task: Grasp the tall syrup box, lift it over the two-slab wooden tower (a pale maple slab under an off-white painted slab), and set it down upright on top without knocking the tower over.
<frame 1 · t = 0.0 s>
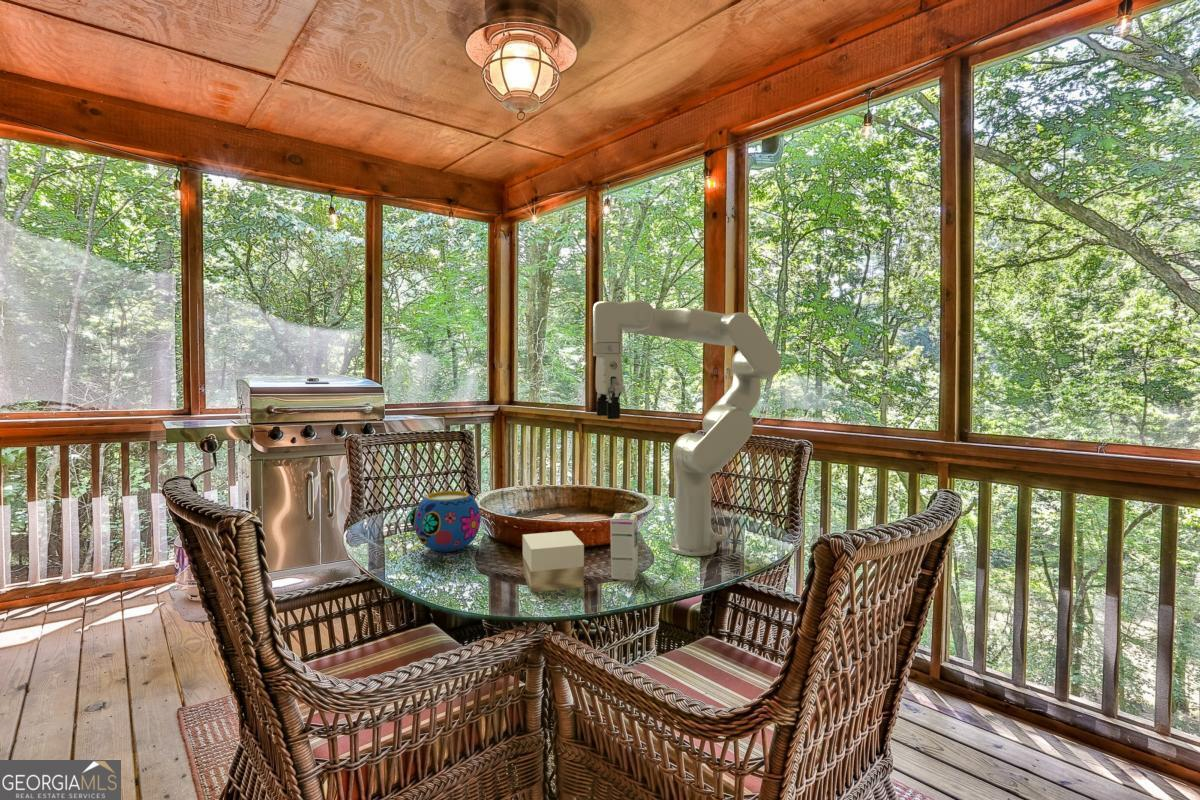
hand: (608, 417, 152), 37 cm above the table, tool pointing down, fingers open, 9 cm apart
tower top slab: (552, 560, 138), point 5 cm above the table
ceramic pot: (448, 549, 162), on the table
tower base slab: (552, 581, 138), on the table
syrup box: (624, 576, 141), on the table
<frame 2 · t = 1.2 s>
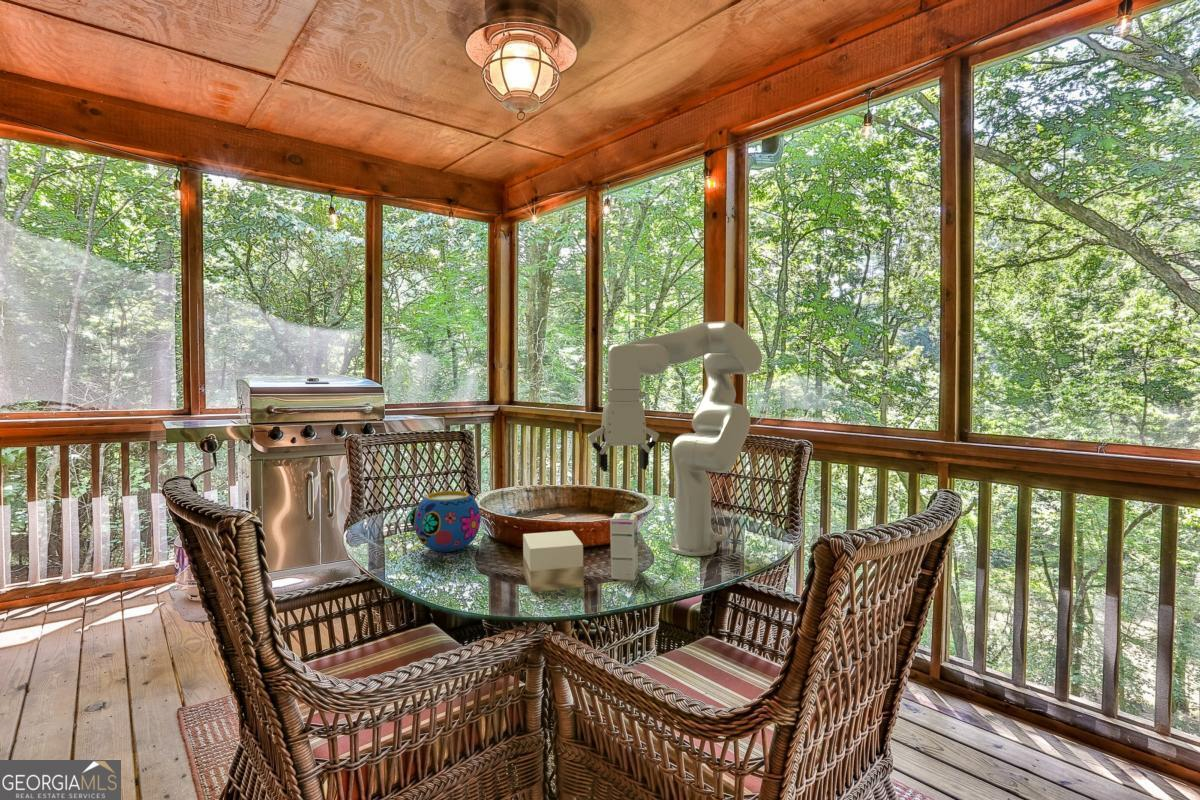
hand: (623, 469, 139), 26 cm above the table, tool pointing down, fingers open, 9 cm apart
nothing on the table moved.
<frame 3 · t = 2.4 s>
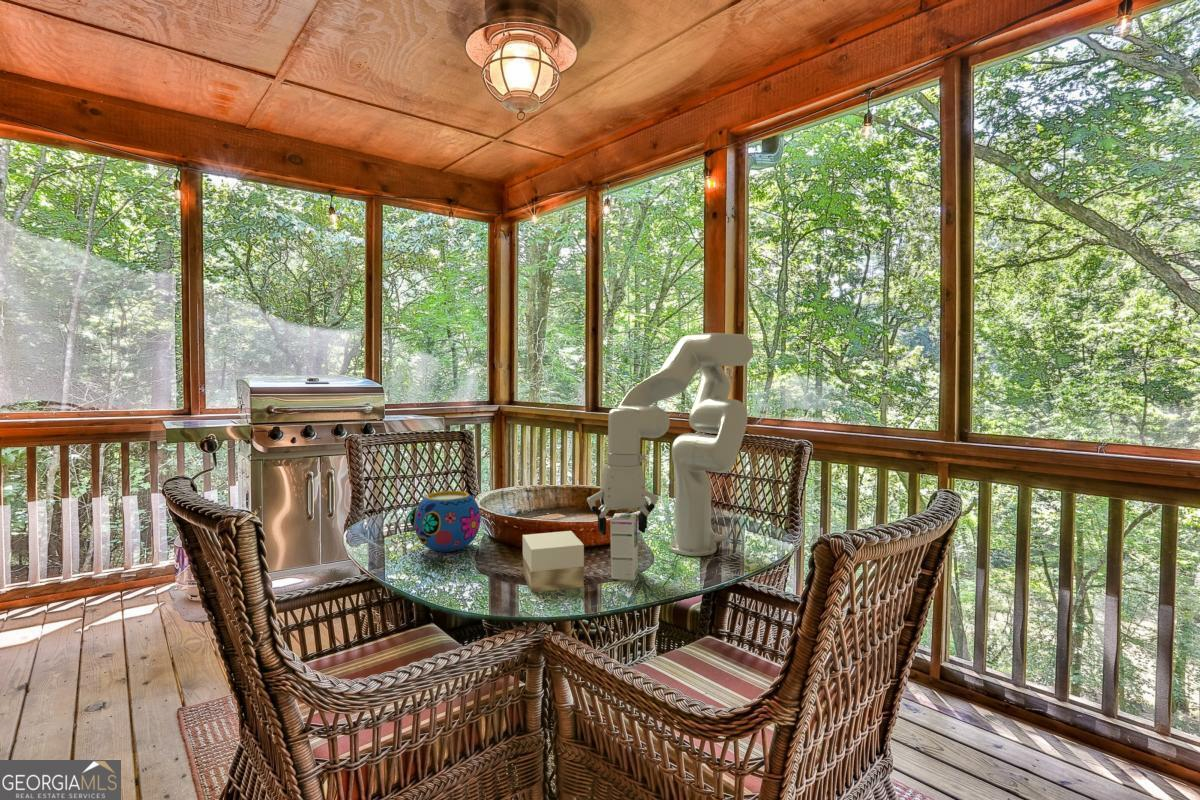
hand: (622, 532, 140), 11 cm above the table, tool pointing down, fingers open, 9 cm apart
tower top slab: (552, 560, 138), point 5 cm above the table, touching tower base slab
tower base slab: (552, 582, 138), on the table, touching tower top slab
everything else where it was.
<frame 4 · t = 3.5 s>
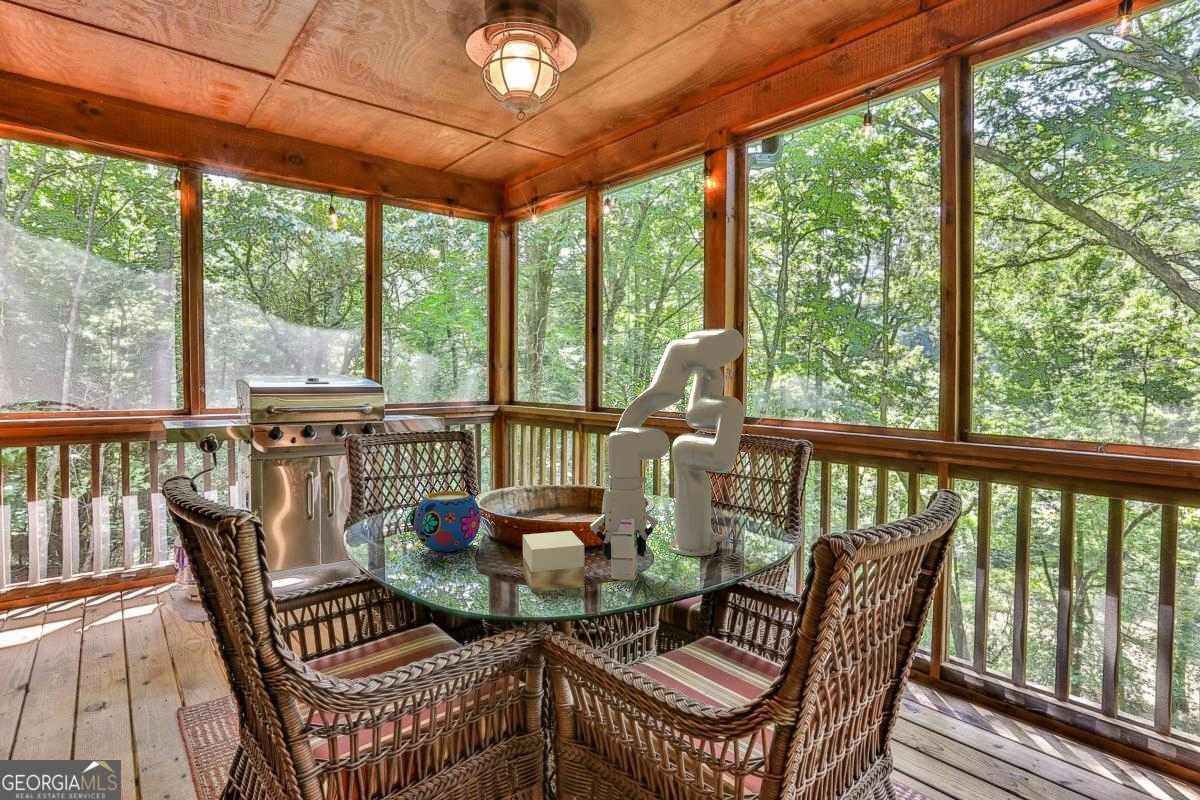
hand: (624, 556, 141), 5 cm above the table, tool pointing down, fingers closed on syrup box, 7 cm apart
syrup box: (624, 576, 141), on the table, touching gripper
everything else where it was.
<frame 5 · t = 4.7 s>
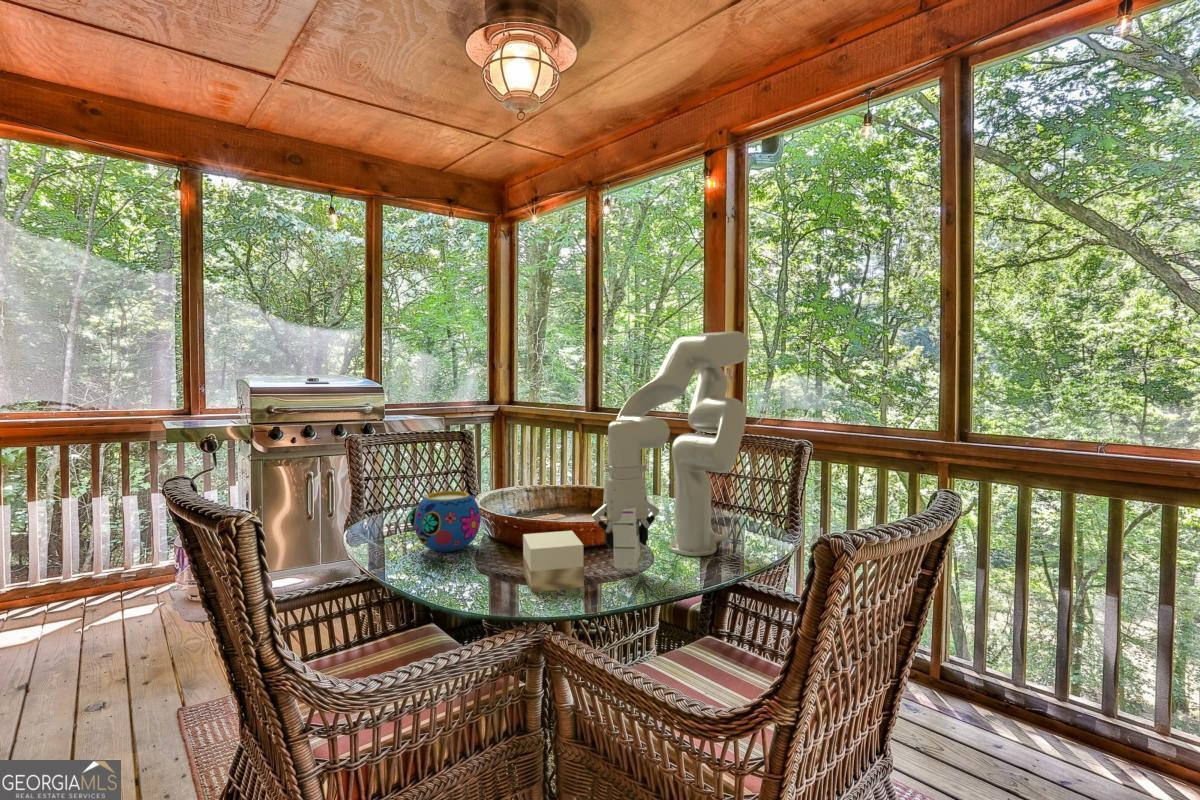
hand: (626, 545, 141), 7 cm above the table, tool pointing down, fingers closed on syrup box, 7 cm apart
tower top slab: (552, 560, 138), point 5 cm above the table
tower base slab: (552, 581, 138), on the table
syrup box: (627, 565, 141), point 2 cm above the table, touching gripper
everything else where it was.
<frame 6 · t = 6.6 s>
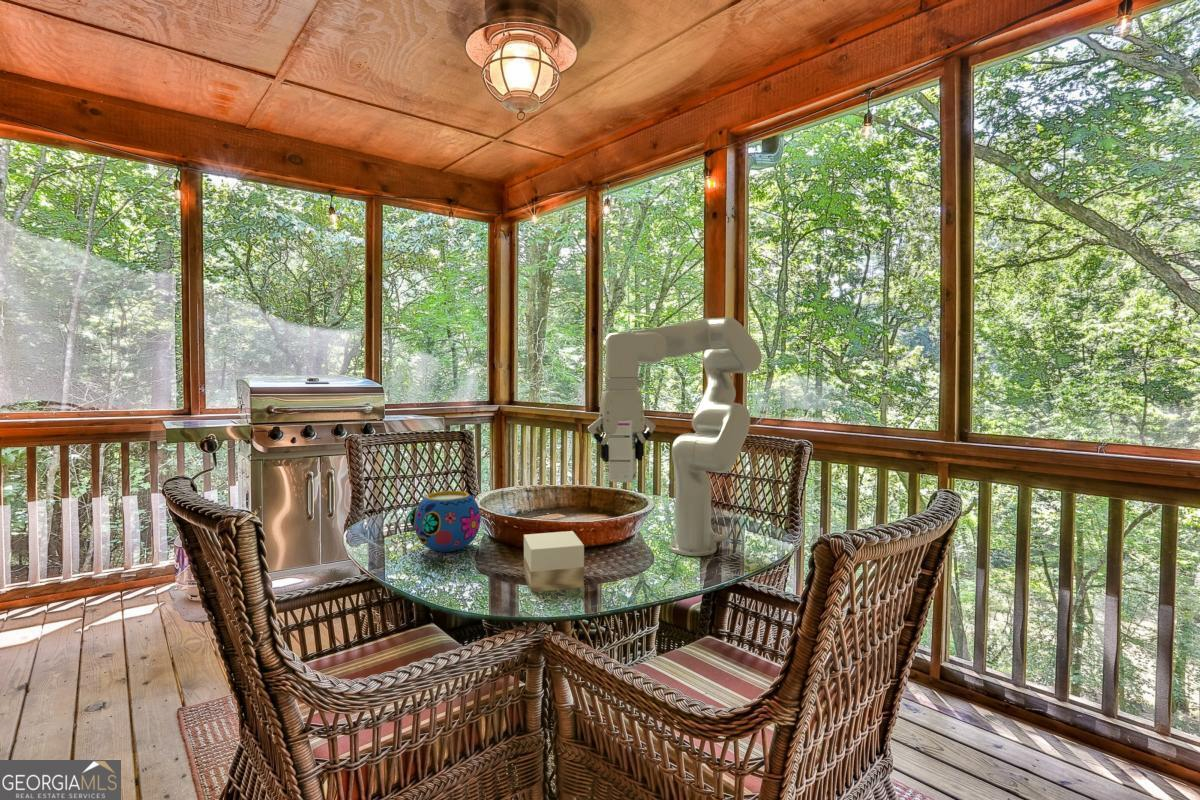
hand: (622, 459, 139), 28 cm above the table, tool pointing down, fingers closed on syrup box, 7 cm apart
tower top slab: (553, 560, 138), point 5 cm above the table, touching tower base slab
tower base slab: (552, 581, 138), on the table, touching tower top slab
syrup box: (622, 480, 139), point 23 cm above the table, touching gripper
everything else where it was.
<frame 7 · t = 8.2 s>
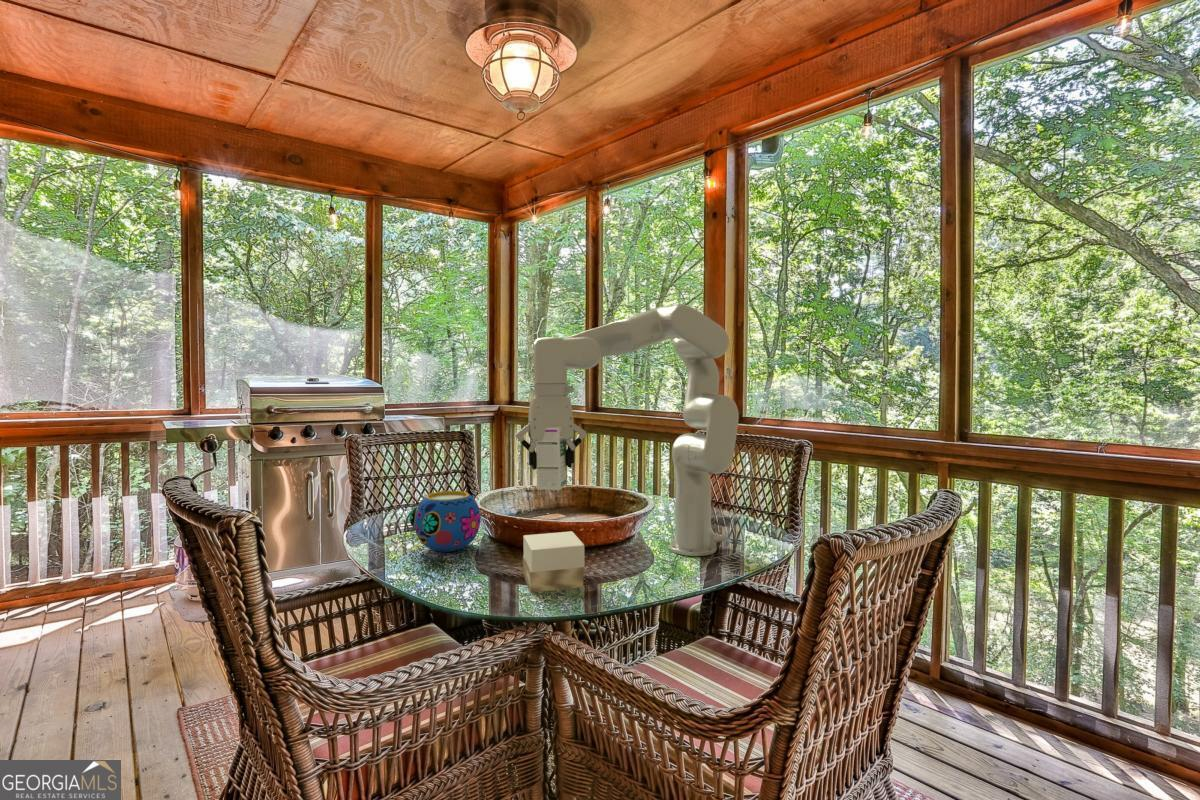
hand: (551, 467, 137), 27 cm above the table, tool pointing down, fingers closed on syrup box, 7 cm apart
syrup box: (551, 488, 137), point 22 cm above the table, touching gripper
everything else where it was.
when the fingers open (16 cm above the table, at t = 11.5 s): syrup box moves 1 cm, resting on tower top slab.
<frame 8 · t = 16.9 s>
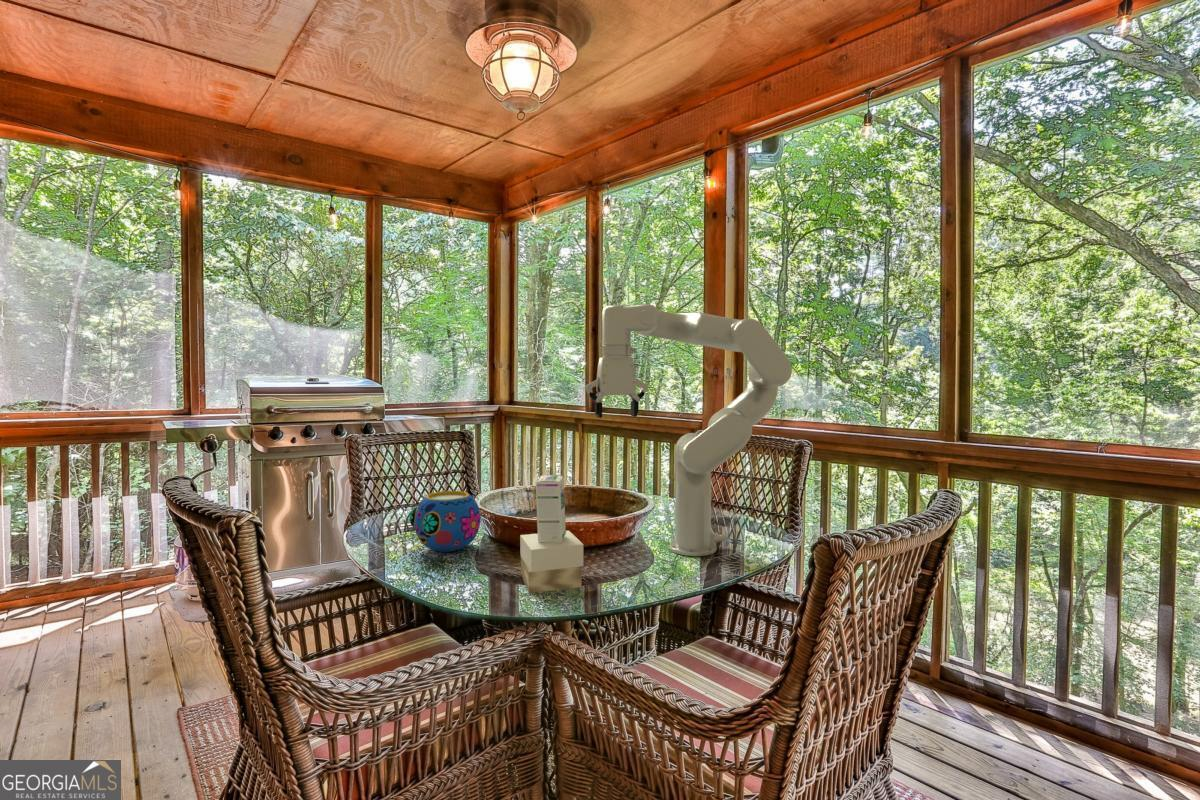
hand: (616, 416, 158), 36 cm above the table, tool pointing down, fingers open, 9 cm apart
tower top slab: (551, 560, 138), point 5 cm above the table, touching syrup box, tower base slab
syrup box: (551, 539, 138), point 10 cm above the table, touching tower top slab
everything else where it was.
at the end: syrup box inside the target area on the tower top slab (0.2 cm from its centre), point 5.0 cm above the tower top slab's base; syrup box tilted 2°; tower top slab 0.2 cm off-centre on the tower base slab, point 5.0 cm above the tower base slab's base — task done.
